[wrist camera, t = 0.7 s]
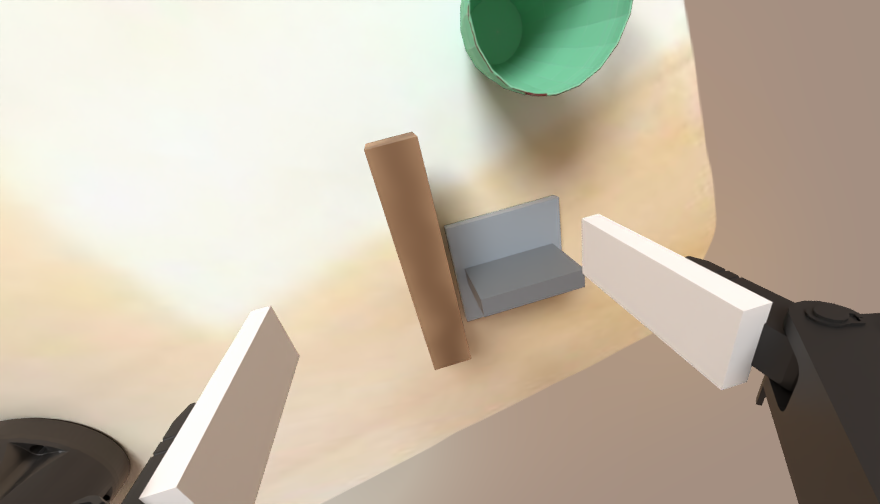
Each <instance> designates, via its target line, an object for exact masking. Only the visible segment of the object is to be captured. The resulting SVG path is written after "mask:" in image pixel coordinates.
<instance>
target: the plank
mask: <svg viewBox="0 0 880 504" xmlns="http://www.w3.org/2000/svg"><path fill="white" fill-rule="evenodd" d="M364 151H365V154H366V158H367V161H368V164H369V167H370V170H371V173H372V176H373V179H374V182H375V185H376V189H377V192H378V195H379V198H380V201H381V204H382V207H383V210H384V213H385V216H386V220H387V223H388V226H389V229H390V232H391V235H392V238H393V241H394V244H395V248H396V251H397V254H398V257H399V260H400V263H401V266H402V269H403V272H404V275H405V279H406V282H407V285H408V288H409V291H410V294H411V297H412V300H413V303H414V306H415V310H416V313H417V316H418V319H419V322H420V325H421V328H422V331H423V334H424V337H425V341H426V344H427V347H428V350H429V353H430V356H431V359H432V362H433V365H434V368H435V370H437V369H440V368H443V367H447V366H450V365H453V364H456V363H459V362H463V361H466V360H469V359H471V355H470V351H469V347H468V343H467V339H466V335H465V331H464V327H463V322H462V318H461V314H460V310H459V306H458V302H457V298H456V294H455V290H454V285H453V281H452V277H451V273H450V269H449V265H448V261H447V257H446V253H445V248H444V244H443V240H442V236H441V232H440V228H439V224H438V220H437V215H436V211H435V207H434V203H433V199H432V195H431V191H430V187H429V183H428V178H427V174H426V170H425V166H424V162H423V158H422V154H421V150H420V146H419V141H418V137H417V136H416V135H415V134H414V133H413V132H409V133H405V134H402V135H398V136H394V137H390V138H386V139H382V140H378V141H375V142H371V143H367V144H366V145H365V149H364Z"/></svg>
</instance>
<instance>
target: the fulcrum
mask: <svg viewBox="0 0 880 504" xmlns="http://www.w3.org/2000/svg"><path fill="white" fill-rule="evenodd" d="M444 228H445V232H446V237H447V241H448V245H449V249H450V254H451V258H452V262H453V266H454V271H455V275H456V279H457V283H458V288H459V292H460V296H461V300H462V305H463V309H464V313H465V317H466V319H467V322H468V321H471V320H475V319H478V318H481V317H486V316H490V315H493V314H496V313H500V312H503V311H506V310H509V309H513V308H516V307H519V306H523V305H526V304H529V303H533V302H536V301H539V300H543V299H546V298H549V297H552V296H556V295H559V294H562V293H566V292H569V291H572V290H576V289H579V288H582V287H585V275H584V274H582V267H581V266H580V265H579V264H578V263H576V262H575V261H574V260H573V259H571V258H570V257H569V256H568V255H566V254H565V253H564V252H563V251H561V232H560V213H559V197H557V196H555V195H552V196H548V197H545V198H541V199H538V200H534V201H531V202H527V203H524V204H520V205H516V206H513V207H509V208H506V209H502V210H499V211H495V212H491V213H488V214H484V215H481V216H477V217H474V218H470V219H467V220H463V221H459V222H456V223H452V224H449V225H445V226H444Z"/></svg>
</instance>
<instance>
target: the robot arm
mask: <svg viewBox="0 0 880 504" xmlns="http://www.w3.org/2000/svg"><path fill="white" fill-rule="evenodd" d="M582 274H584V275H585V276H586V277H587V278H588V279H590V280H591V281H592V282H593V283H594V284H596V285H597V286H598V287H599V288H600V289H601V290H603V291H604V292H605V293H606V294H607V295H609V296H610V297H611V298H612V299H613V300H615V301H616V302H617V303H618V304H619V305H621V306H622V307H623V308H624V309H625V310H627V311H628V312H629V313H630V314H631V315H632V316H634V317H635V318H636V319H637V320H638V321H640V322H641V323H642V324H643V325H644V326H646V327H647V328H648V329H649V330H650V331H652V332H653V333H654V334H655V335H656V336H657V337H659V338H660V339H661V340H663V342H665V343H666V344H667V345H668V346H669V347H671V348H672V349H673V350H674V351H675V352H677V353H678V354H679V355H680V356H682V357H683V358H684V359H685V360H686V361H687V362H688V363H690V364H691V365H692V366H693V367H695V368H696V369H697V370H698V371H699V372H701V373H702V374H703V375H704V376H705V377H706V378H708V379H709V380H710V381H711V382H712V383H714V384H715V385H716V386H717V387H718V388H720V389H721V390H724V389H727V388H729V387H733V386H736V385H739V384H742V383H745V382H747V380H748V376H749V373H750V370H751V367H752V366H753V367H755V368H756V369H758V370H759V371H761V372H762V373H763V374H765V376H764V378H763V381H762V384H761V386H760V389H759V392H758V395H757V398H756V404H757V405H762V403H763V401H764V398H765V397H767V401H768V404H769V407H770V411H771V414H772V417H773V420H774V424H775V427H776V430H777V433H778V437H779V440H780V444H781V447H782V450H783V453H784V457H785V460H786V463H787V466H788V470H789V473H790V476H791V479H792V483H793V486H794V490H795V493H796V496H797V500H798V503H799V504H880V313H873V314H859V313H857V312H855V311H853V310H851V309H849V308H846V307H843V306H839V305H836V304H832V303H827V302H821V301H801V302H797V303H794V302H792V301H790V300H788V299H786V298H784V297H782V296H780V295H777V294H775V293H773V292H771V291H769V290H767V289H765V288H763V287H761V286H759V285H757V284H754V283H753V282H750V281H748V280H746V279H744V278H739V276H738V275H736V274H734V273H732V272H730V271H725V269H724V268H722V267H719V266H717V265H715V264H713V263H711V262H709V261H706V260H702V259H698V258H694V257H691V256H687V257H683V256H681V255H679V254H677V253H675V252H673V251H671V250H669V249H667V248H665V247H663V246H661V245H659V244H657V243H655V242H653V241H651V240H649V239H647V238H645V237H643V236H641V235H639V234H637V233H635V232H634V231H632V230H630V229H628V228H626V227H624V226H622V225H620V224H618V223H616V222H614V221H612V220H610V219H608V218H606V217H604V216H602V215H600V214H596V215H593V216H589V217H585V218H582ZM298 360H299V354H298V352H297V351H296V349H295V347H294V345H293V344H292V342H291V340H290V338H289V337H288V335H287V333H286V331H285V330H284V328H283V326H282V324H281V323H280V321H279V319H278V317H277V316H276V314H275V312H274V310H273V309H272V307H271V306H268V307H264V308H261V309H257V310H254V311H251V313H250V314H249V316H248V318H247V319H246V321H245V323H244V324H243V326H242V328H241V329H240V331H239V333H238V334H237V336H236V338H235V339H234V341H233V343H232V344H231V346H230V348H229V349H228V351H227V353H226V354H225V356H224V358H223V359H222V361H221V363H220V364H219V366H218V368H217V369H216V371H215V373H214V374H213V376H212V378H211V379H210V381H209V383H208V384H207V386H206V388H205V389H204V391H203V393H202V394H201V396H200V398H199V399H198V401H197V402H196V403H192V404H190V405H189V406H188V407H187V408H186V409H185V410H184V411H183V412H182V413H181V414H180V415H179V416H178V417H177V418H176V419H175V420H174V422H173V423H172V425H171V426H170V428H169V430H168V431H167V433H166V434H165V436H164V437H163V442H160V444H159V445H158V447H157V448H156V450H155V452H154V453H153V454H154V456H153V457H151V458H150V459H149V461H148V463H147V464H146V466H145V467H144V469H143V470H142V472H141V474H140V475H139V477H138V478H137V480H136V481H135V483H134V485H133V486H132V488H131V489H130V491H129V492H128V494H127V496H126V497H125V499H124V500H123V502H122V503H121V504H255V500H256V497H257V494H258V491H259V487H260V484H261V481H262V477H263V474H264V471H265V468H266V464H267V461H268V458H269V454H270V451H271V448H272V445H273V441H274V438H275V435H276V432H277V428H278V425H279V422H280V418H281V415H282V412H283V409H284V405H285V402H286V399H287V396H288V392H289V389H290V386H291V382H292V379H293V376H294V373H295V369H296V366H297V363H298ZM129 472H130V464H129V460H128V457H127V455H126V454H125V452H124V451H123V450H122V449H121V447H120V446H119V445H117V444H116V443H115V442H114V441H112V440H111V439H110V438H108V437H106V436H105V435H103V434H101V433H99V432H97V431H95V430H92V429H90V428H87V427H84V426H81V425H78V424H74V423H70V422H65V421H59V420H52V419H40V418H23V419H12V420H5V421H0V504H109V503H110V502H111V501H112V500H113V498H114V497H115V496H116V494H117V493H118V491H119V490H120V488H121V487H122V485H123V484H124V482H125V481H126V479H127V477H128V475H129Z"/></svg>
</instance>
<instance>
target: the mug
mask: <svg viewBox="0 0 880 504" xmlns="http://www.w3.org/2000/svg"><path fill="white" fill-rule="evenodd" d="M632 3H633V0H462V1H461V7H460V30H461V34H462V38H463V42H464V45H465V49H466V52H467V53H468V55H469V57H470V58H471V60H472V62H473V63H474V65H475V67H476V68H477V69H479V70H480V71H481V72H482V73H483V74H484V75H486V76H487V77H488V78H489V79H491V80H493V81H494V82H496V83H497V84H499V85H500V86H501V87H503V88H504V89H508V90H511V91H514V92H517V93H520V94H524V95H526V94H528V95H532V96H556V95H559V94H561V93H564V92H566V91H568V90H571V89H573V88H576V87H578V86H580V85H581V84H582V83H583V82H585V81H586V80H587V79H588V78H590V77H591V76H592V75H593V74H594V73H596V72H597V71H598V70H599V69H600V68H601V67H602V66H603V64H604V63H605V61H606V60H607V59H608V57H609V56H610V55H611V53H612V52H613V50H614V49H615V48H616V46H617V45H618V43H619V40H620V38H621V36H622V33H623V31H624V29H625V26H626V24H627V21H628V19H629V17H630V14H631V9H632Z"/></svg>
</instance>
